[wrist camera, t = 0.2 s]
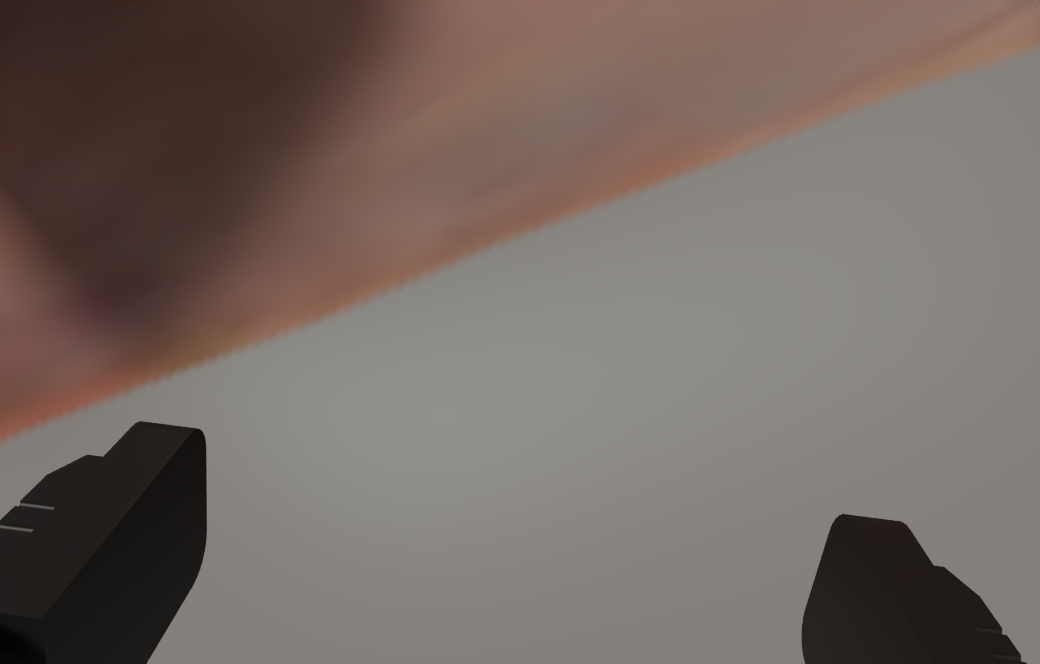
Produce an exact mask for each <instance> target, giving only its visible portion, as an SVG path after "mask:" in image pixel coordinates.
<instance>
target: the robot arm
mask: <svg viewBox="0 0 1040 664" xmlns="http://www.w3.org/2000/svg"><path fill="white" fill-rule="evenodd" d="M206 492H207V491H206V441H205V436H204V434H203V432H202V431H201V430H200V429H196V428H189V427H181V426H173V425H166V424H158V423H150V422H142V421H141V422H137V423H135V424H134V425H133V426H132V427H131V428H130V429H129V430H128V431H127V432H126V433H125V434H124V436H123V437H122V438H121V439H120V440H119V441H118V442H117V443H116V444H115V445H114V446H113V447H112V448H111V449H110V450H109V451H108V452H107V453H106V454H105V456H103V457H101V456H93V455H86V456H84V457H82V458H80V459H78V460H76V461H74V462H72V463H70V464H68V465H66V466H64V467H62V468H60V469H58V470H56V471H54V472H52V473H50V474H48V475H46V476H45V477H44V478H43V479H42V480H41V481H40V482H39V483H38V484H37V485H36V486H35V487H34V488H33V489H32V490H31V491H30V492H29V493H28V494H27V495H26V496H25V497H24V498H23V499H22V500H21V501H20V505H19V507H17V506H15V507H14V508H13V509H11V510H10V511H9V512H8V513H7V514H6V515H5V516H4V517H3V518H2V519H1V520H0V664H146V663H147V662H148V660H149V658H150V657H151V655H152V653H153V652H154V650H155V648H156V647H157V645H158V643H159V642H160V640H161V638H162V637H163V635H164V633H165V632H166V630H167V628H168V627H169V625H170V623H171V621H172V620H173V618H174V616H175V615H176V613H177V612H178V610H179V608H180V607H181V605H182V603H183V602H184V600H185V598H186V596H187V595H188V593H189V591H190V590H191V588H192V586H193V585H194V583H195V580H196V578H197V576H198V573H199V571H200V567H201V564H202V561H203V557H204V552H205V546H206V537H207V493H206ZM802 650H803V656H804V661H805V664H1027V663H1025V662H1021V655H1020V653H1019V652H1018V651H1017V649H1016V648H1015V646H1014V645H1013V643H1012V642H1011V640H1010V639H1009V638H1008V636H1007V635H1002V628H1001V626H1000V625H999V623H998V622H997V620H996V619H995V618H994V616H993V615H992V613H991V612H990V610H989V609H988V608H987V606H986V605H985V603H984V602H983V600H982V599H981V598H980V597H979V596H978V595H977V594H976V593H975V592H974V591H972V590H971V589H970V588H969V587H968V586H966V585H965V584H964V583H963V582H961V581H960V580H959V579H958V578H957V577H955V576H954V575H953V574H952V573H951V572H949V571H948V570H947V569H946V568H945V567H939V566H934V565H933V564H932V562H931V561H930V559H929V558H928V556H927V555H926V553H925V552H924V550H923V549H922V547H921V546H920V544H919V543H918V541H917V539H916V538H915V536H914V535H913V533H912V532H911V530H910V529H909V528H908V526H907V525H906V524H904V523H903V522H900V521H893V520H885V519H877V518H869V517H861V516H854V515H847V514H842V515H839V516H838V517H837V518H836V519H835V521H834V522H833V524H832V526H831V529H830V532H829V535H828V538H827V541H826V544H825V547H824V551H823V554H822V557H821V560H820V564H819V567H818V570H817V573H816V576H815V580H814V583H813V586H812V589H811V592H810V596H809V599H808V602H807V605H806V609H805V612H804V617H803V623H802Z"/></svg>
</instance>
